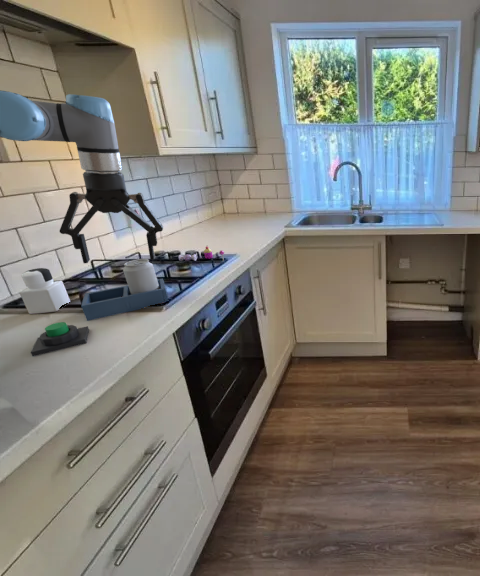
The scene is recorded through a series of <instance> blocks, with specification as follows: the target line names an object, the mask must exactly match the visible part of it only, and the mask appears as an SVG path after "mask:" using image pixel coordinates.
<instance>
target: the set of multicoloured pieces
mask: <svg viewBox="0 0 480 576" xmlns="http://www.w3.org/2000/svg"><path fill="white" fill-rule="evenodd" d="M218 252H219V254H220V255H221V258H222V262H224V261H225V259H224V255H225V251H224V250H219V251H218ZM203 253H204V257H205V259H207V260H208V259H209V260H210V259H212V258H213V257H214V256H213V251H212V249H211V248H209V246H205V249H204V251H203ZM197 257H198V256H197V255H196V253H193V254H192V255H191V254H184V255H182V254H179V255H178V260H179V262H183V261H185V262H191V261H197Z"/></svg>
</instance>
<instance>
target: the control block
mask: <svg viewBox="0 0 480 576" xmlns="http://www.w3.org/2000/svg"><path fill="white" fill-rule="evenodd" d="M67 326H68V329H69V331H68V332H67V333H64V334H62V335H59V336H54V337H48V335H47V333H46V331H44V332H42V333H41V334H40V335H39V337H37V338H36V340H35V343H34V345H33V347H32V348H31V350H30V354H31V356H32V357H36V356H41V355H45V354H47V353H52V352H56V351H61V350H65V349H68V348H72V347H76V346H80V345H84V344H87V342H88V337H89V334H90V328H89V326H87V325H86V326H83V327H77V325H73V324H67Z"/></svg>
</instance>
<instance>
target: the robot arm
mask: <svg viewBox="0 0 480 576" xmlns="http://www.w3.org/2000/svg"><path fill="white" fill-rule="evenodd" d="M0 138H1V139H2V138H3V139H6V140H9V141H15V142H29V141H39V142H63V143H75V145H76V151H77V154H78V159H79V163H80V168H81V170H83V171H84V172H83V173H82V177H83V182H84V186H85V190H86V191H85V193H80V192H79V193H78V192H77V191H73V192H71V193H69V195H68V196H69V205H68V207H67V210H66V213H65V215H64V217H63V220H62V223H61V225H60V228H59V233H60V234H62V235H68V236H70V237H71V240H72V244H73V248H74V250H80V254H81V259H82V263H83V264H88V263H89V262H90V261H91V258H90V254H89V250H88V246H87V245H88V244H87V242H86V237H85V234H84V233H81V231H82V230H83V229H84V227H86V225H87V224H88V223H89V222H90V220H92V219H93V217H94V216H95V214H96V213H97V212H100V213H102V214H109V213H112V214H119V213H121V212H122V213H123V214H125V215H126V216H128V217H129V218H130V219H131V220H133V221H134V222H135V223H137V224H138V225H139V226H140V227H141V228H142V229H144V230H145V231H146V235H145V236H146V241H147V249H148V254H149V261H150V260H151V261H153V260H155V251H154V247H157V246H158V237H157V233H160V232H162V231H164V226H163V224H162V223H161V222H160V220H159V219H158V217H157V216H156V215H155V213H154V212H153V210H152V209H151V208H150V206H149V205H148V204H147V203H146V201H145V198H144V194H143V193H142V192H137V193H132V194H131V193H130V194H129V192H128V191H127V185H126V181H125V175H124V173H123V172H121V171H123V164H122V159H121V154H120V150H119V143H118V136H117V132H116V124H115V120H114V115H113V112H112V107H111V104H110V102H109V101H108V100H107V99H106V98H103V97H99V96H92V95H81V94H72V93H69V94H66V95H65V103H64V102H63V103H62V102H61V103H58V102H57V103H54V102H47V101H39V100H32V99H29V98H28V97H26V96H23V95H22V94H20V93H17V92H12V91H7V90H0ZM84 200H86V201H87V202H88V203H89V204H90V205H91V207H90V209H88V211H87V212H86V213H85V215H84V216H83V217H82V218H81V219H80V221H79V222H78V223H77V224H76V225H75V227H73V228H72V227H71V226H72V223H73V221H74V218H75V216H76V214H77V212H78V208H79V205H80V204H81V203H83V201H84ZM131 200H132V201H133V203H135V204H138V207H139V208H140V209H141V211H142V212H143V213H144V215H145V216H146V217H147V218H148V220H149V222H151V224H150V223H149V222H148V221H147V220H145V218H143V217H142V216H141V215H140V214H138V213H137V212H136V211H135V210H134V209H133V207H131V206H130V205H129V204H128V203H129V202H130V201H131Z"/></svg>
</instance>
